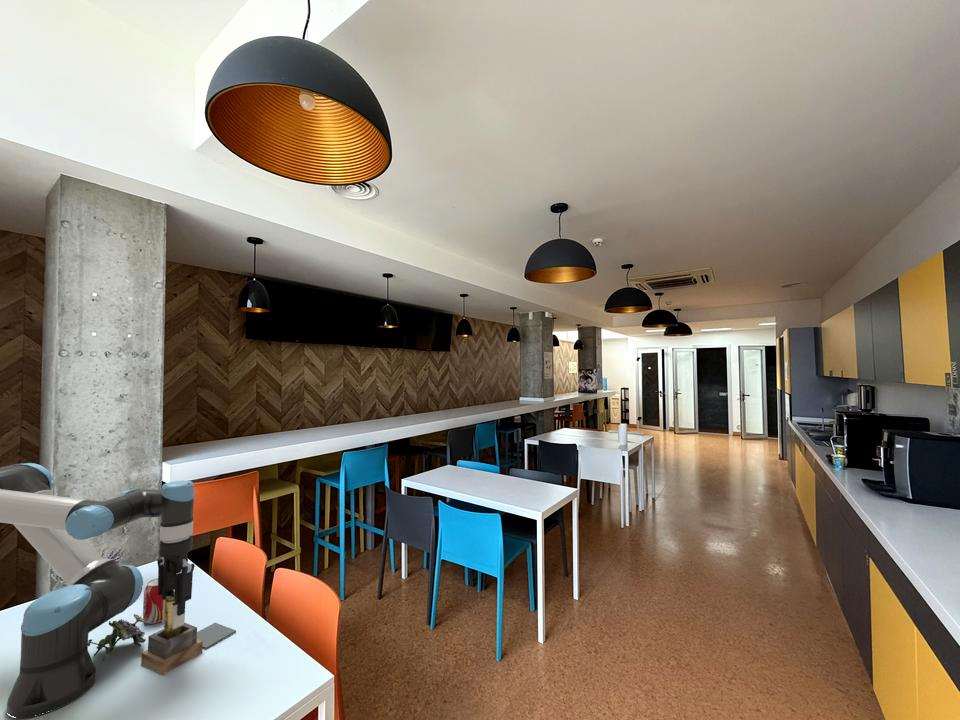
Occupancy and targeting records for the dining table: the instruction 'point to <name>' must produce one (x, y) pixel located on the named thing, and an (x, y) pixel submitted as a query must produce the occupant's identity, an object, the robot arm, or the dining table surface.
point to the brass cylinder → (170, 618)
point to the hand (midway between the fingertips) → (173, 623)
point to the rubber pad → (213, 634)
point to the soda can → (152, 603)
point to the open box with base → (171, 649)
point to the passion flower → (121, 635)
